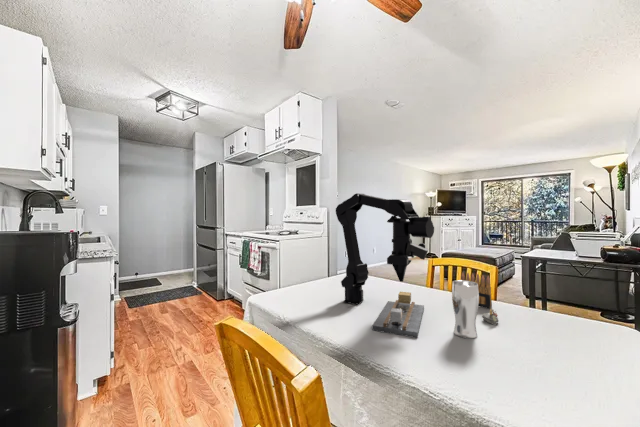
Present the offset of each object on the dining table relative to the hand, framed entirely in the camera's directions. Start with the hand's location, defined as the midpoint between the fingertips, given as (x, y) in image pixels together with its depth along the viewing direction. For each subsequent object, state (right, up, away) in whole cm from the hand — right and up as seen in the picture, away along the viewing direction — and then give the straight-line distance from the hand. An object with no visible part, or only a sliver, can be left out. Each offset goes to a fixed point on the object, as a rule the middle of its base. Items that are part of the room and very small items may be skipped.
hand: (401, 281), depth 97 cm
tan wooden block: (+3, -9, +7) cm, 12 cm away
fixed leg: (-5, -11, -11) cm, 16 cm away
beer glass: (+14, -12, -15) cm, 24 cm away
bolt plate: (-1, -12, -3) cm, 12 cm away
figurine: (+27, -12, -6) cm, 30 cm away
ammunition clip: (+31, -12, +10) cm, 35 cm away
